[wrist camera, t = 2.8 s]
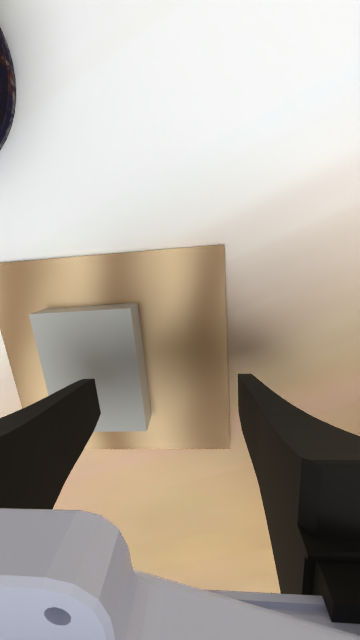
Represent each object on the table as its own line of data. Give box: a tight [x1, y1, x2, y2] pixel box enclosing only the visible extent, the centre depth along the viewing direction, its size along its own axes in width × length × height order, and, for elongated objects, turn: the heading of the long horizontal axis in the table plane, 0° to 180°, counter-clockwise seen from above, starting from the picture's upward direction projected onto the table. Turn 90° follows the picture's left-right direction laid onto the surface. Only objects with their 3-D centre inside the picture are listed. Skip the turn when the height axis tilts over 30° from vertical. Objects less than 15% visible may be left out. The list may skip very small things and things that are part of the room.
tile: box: [29, 303, 152, 432], centre depth 15 cm, size 2×8×6 cm
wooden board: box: [0, 245, 230, 449], centre depth 17 cm, size 15×14×1 cm
